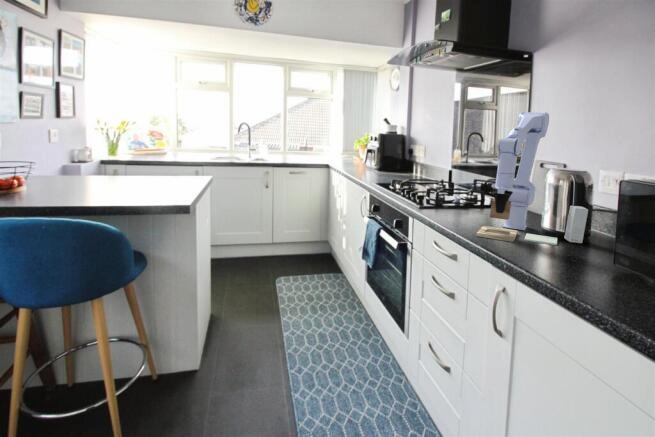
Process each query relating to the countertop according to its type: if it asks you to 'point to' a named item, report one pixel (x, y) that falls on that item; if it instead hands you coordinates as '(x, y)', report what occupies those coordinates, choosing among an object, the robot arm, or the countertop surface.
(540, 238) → the sage tile
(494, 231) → the pocket plate
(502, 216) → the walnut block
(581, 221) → the skincare box
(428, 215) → the countertop surface
